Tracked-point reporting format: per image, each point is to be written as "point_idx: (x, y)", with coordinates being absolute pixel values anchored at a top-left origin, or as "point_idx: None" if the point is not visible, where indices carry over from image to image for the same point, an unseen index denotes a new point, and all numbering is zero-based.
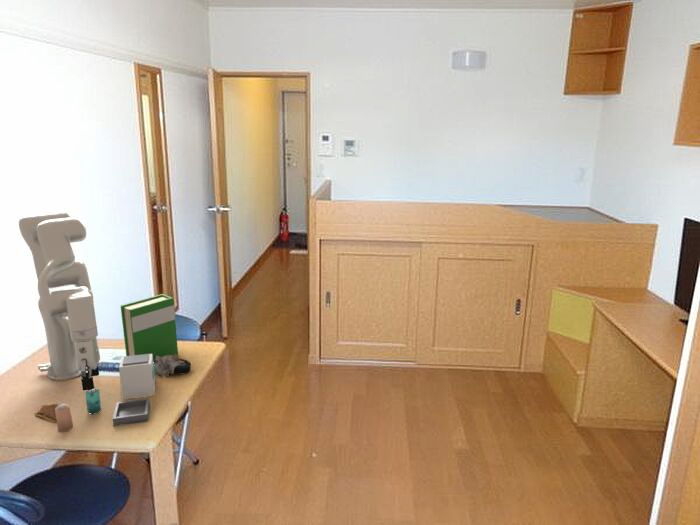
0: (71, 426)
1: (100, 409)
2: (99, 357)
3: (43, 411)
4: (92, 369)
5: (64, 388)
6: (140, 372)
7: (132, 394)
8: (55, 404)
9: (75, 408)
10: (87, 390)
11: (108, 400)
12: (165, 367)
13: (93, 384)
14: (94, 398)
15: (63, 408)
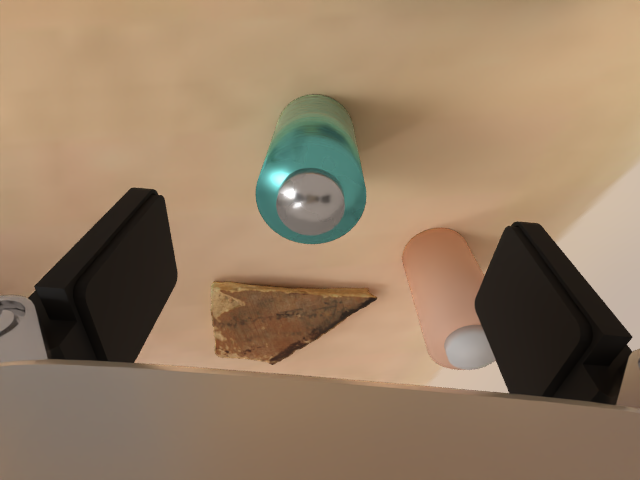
0: (456, 236)
1: (331, 100)
2: (5, 431)
3: (271, 346)
4: (134, 299)
5: (30, 291)
6: None
7: None
8: (221, 317)
9: (254, 231)
10: (277, 231)
11: (195, 51)
12: None
13: (560, 253)
14: (360, 163)
15: None
